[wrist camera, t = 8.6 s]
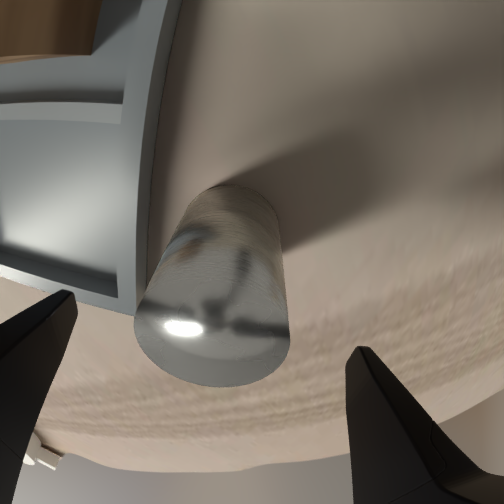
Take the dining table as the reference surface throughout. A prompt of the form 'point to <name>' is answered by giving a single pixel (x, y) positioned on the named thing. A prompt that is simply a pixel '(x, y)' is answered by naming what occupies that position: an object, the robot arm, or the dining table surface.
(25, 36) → the walnut block
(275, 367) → the steel cylinder
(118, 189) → the tray
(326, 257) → the dining table surface
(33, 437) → the ring with crossbar
